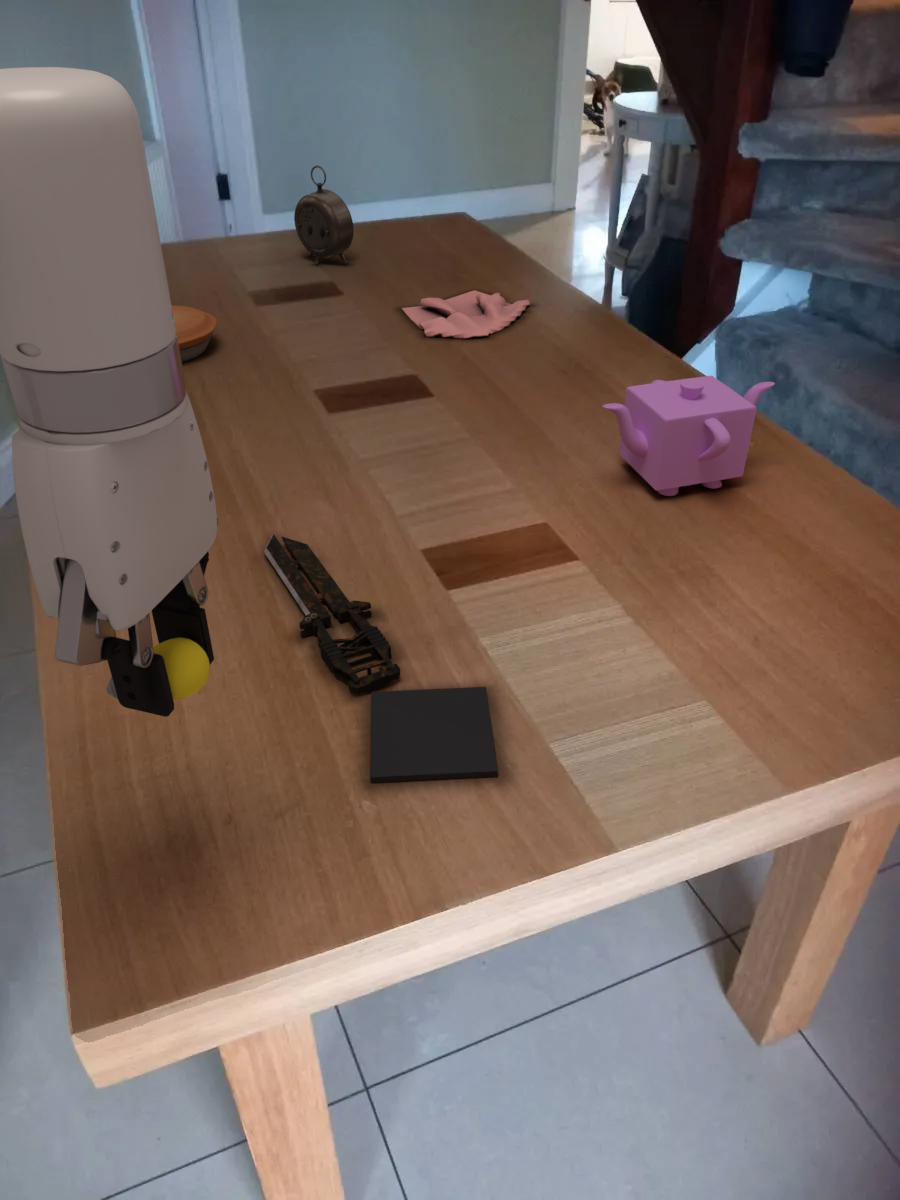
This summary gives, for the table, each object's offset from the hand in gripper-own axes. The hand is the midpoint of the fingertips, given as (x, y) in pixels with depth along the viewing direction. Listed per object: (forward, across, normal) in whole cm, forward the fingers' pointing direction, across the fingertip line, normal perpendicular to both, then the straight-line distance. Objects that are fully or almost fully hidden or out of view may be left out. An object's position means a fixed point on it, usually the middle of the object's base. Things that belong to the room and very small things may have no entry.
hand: (168, 681), depth 53 cm
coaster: (+14, -14, +11) cm, 22 cm away
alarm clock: (+14, -124, -45) cm, 133 cm away
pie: (+14, -77, -49) cm, 92 cm away
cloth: (+13, -104, -12) cm, 106 cm away
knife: (+14, -26, -3) cm, 29 cm away
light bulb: (+1, 0, 0) cm, 1 cm away
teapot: (+13, -60, +25) cm, 66 cm away
